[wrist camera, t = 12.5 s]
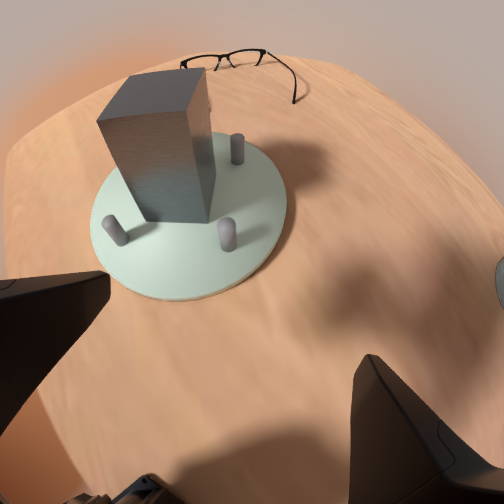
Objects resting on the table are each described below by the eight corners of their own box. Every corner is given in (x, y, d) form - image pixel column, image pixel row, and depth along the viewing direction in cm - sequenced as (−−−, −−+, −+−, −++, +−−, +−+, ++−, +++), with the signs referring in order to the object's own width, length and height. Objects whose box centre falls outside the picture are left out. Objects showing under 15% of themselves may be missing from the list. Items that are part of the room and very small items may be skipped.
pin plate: (285, 309, 22) (294, 292, 18) (73, 289, 22) (48, 272, 18) (283, 141, 31) (286, 112, 27) (127, 142, 31) (117, 117, 27)
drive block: (208, 223, 24) (186, 110, 13) (146, 221, 24) (96, 120, 13) (216, 172, 27) (205, 66, 16) (160, 172, 27) (130, 74, 16)
